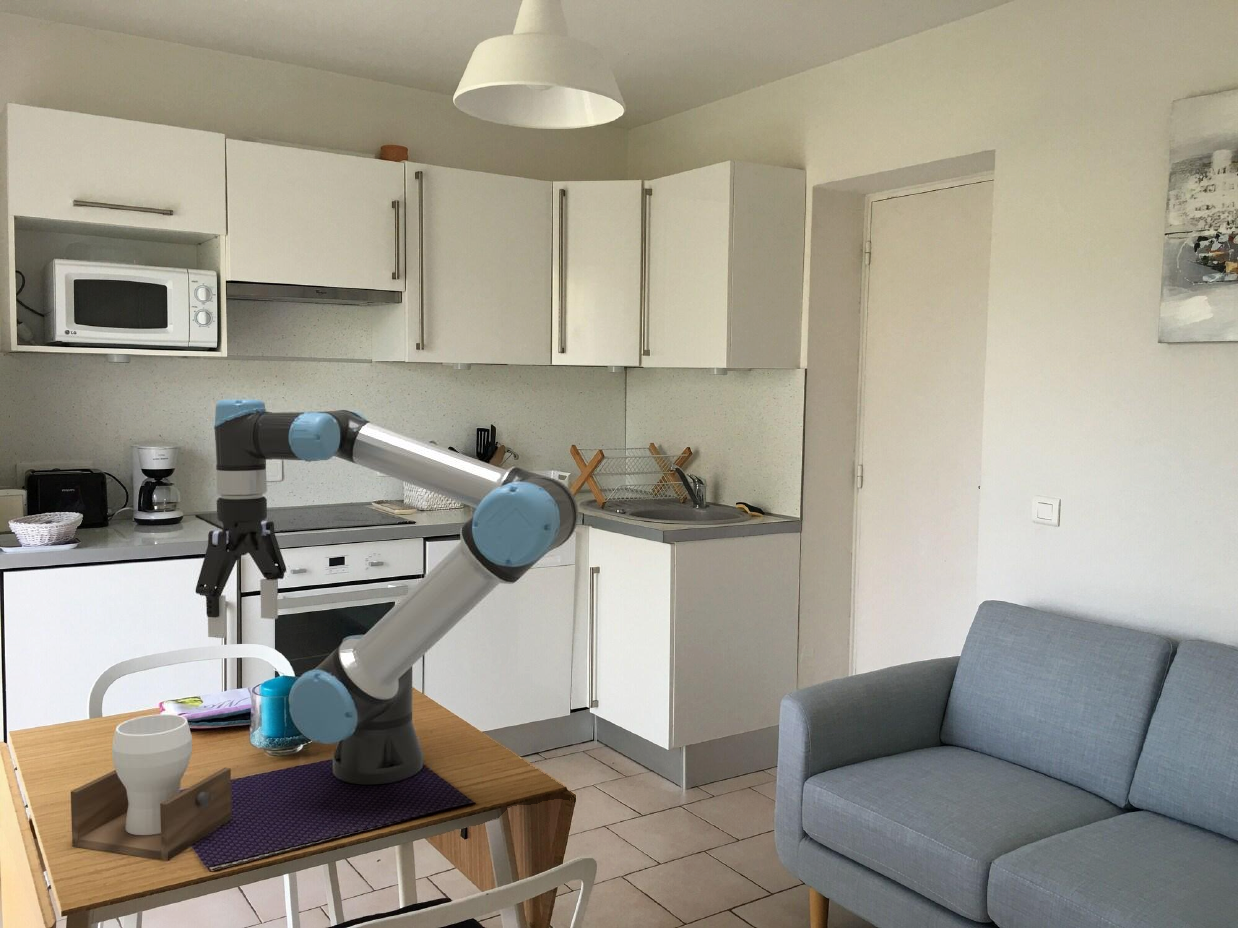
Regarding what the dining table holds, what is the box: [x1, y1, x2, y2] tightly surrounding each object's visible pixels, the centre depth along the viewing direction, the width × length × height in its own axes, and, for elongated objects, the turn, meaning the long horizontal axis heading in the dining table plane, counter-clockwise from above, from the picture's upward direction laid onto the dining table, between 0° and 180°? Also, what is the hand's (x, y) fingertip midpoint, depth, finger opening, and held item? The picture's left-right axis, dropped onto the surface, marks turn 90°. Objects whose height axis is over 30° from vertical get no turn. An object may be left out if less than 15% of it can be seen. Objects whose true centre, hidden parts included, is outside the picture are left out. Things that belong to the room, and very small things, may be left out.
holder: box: [70, 767, 233, 862], centre depth 149 cm, size 18×14×8 cm
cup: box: [111, 713, 193, 835], centre depth 149 cm, size 11×11×15 cm
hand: (244, 627), depth 164 cm, fingers open, 13 cm apart
